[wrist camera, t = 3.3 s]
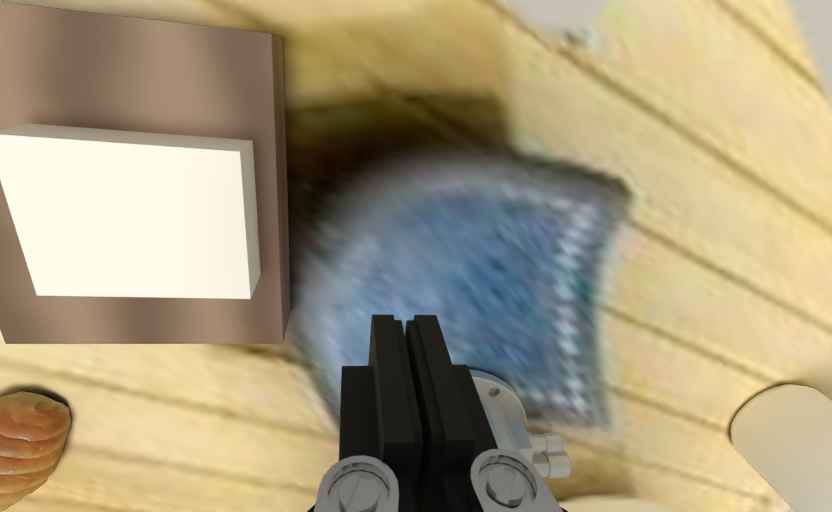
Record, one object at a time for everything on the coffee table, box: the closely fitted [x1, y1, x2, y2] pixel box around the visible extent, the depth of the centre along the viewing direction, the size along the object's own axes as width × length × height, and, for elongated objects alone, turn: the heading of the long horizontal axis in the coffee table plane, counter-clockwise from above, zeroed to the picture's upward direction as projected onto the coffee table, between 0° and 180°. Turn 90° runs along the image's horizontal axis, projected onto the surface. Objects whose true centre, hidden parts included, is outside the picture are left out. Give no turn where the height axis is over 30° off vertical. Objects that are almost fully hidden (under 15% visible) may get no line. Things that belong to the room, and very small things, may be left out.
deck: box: [0, 2, 291, 344], centre depth 21 cm, size 14×16×4 cm
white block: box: [0, 124, 261, 299], centre depth 19 cm, size 9×7×2 cm
